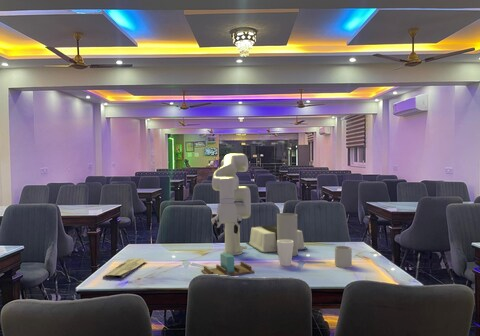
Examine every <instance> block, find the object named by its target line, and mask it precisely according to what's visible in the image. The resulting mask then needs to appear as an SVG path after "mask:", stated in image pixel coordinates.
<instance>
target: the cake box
mask: <svg viewBox="0 0 480 336" xmlns="http://www.w3.org/2000/svg"><path fill="white" fill-rule="evenodd" d="M297 235H298V252H299V251H306V250H308V247H305V243H304V242H305V240H304V234H303V230H300V229H297ZM246 244H247V245H248V246H250V247H251V248H253V249H255V250H256V251H258V252H259V253H261V254H271V253H272V254H273V253H277V224H276V225H274V224H273V225H259V226H252V227H251V230H250V238H249V242H246Z"/></svg>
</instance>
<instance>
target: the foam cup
mask: <svg viewBox="0 0 480 336" xmlns="http://www.w3.org/2000/svg"><path fill="white" fill-rule="evenodd" d="M293 246H294V241H292V240H277V248H278V254H277V255H278V260H279V261H278V262H279V265H280V266H282V267H283V266H285V267H288V266H289V267H290V266H291V265H292V262H293V261H292V260H293V259H292V258H293V257H292V252H293Z"/></svg>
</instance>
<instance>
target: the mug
mask: <svg viewBox="0 0 480 336" xmlns="http://www.w3.org/2000/svg"><path fill="white" fill-rule="evenodd" d="M352 251H353V250H352V247H351V246H348V245H336V246H334V266H335V267H338V268H343V269H344V268H345V269H346V268H347V269H348V268H351V267H352V266H353V265H352V264H353V263H352V262H353V261H352V259H353V258H352Z"/></svg>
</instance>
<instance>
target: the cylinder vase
mask: <svg viewBox="0 0 480 336" xmlns="http://www.w3.org/2000/svg"><path fill="white" fill-rule="evenodd" d="M276 226H277V240H292V241H294V246H293V252H292V258H293V257H297V255H298V254H299V251H298V235H297V230H298V214H297V213H293V212H291V213H290V212H286V213H284V212H281V213H276ZM276 253H277V255H278V248H277V252H276Z"/></svg>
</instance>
